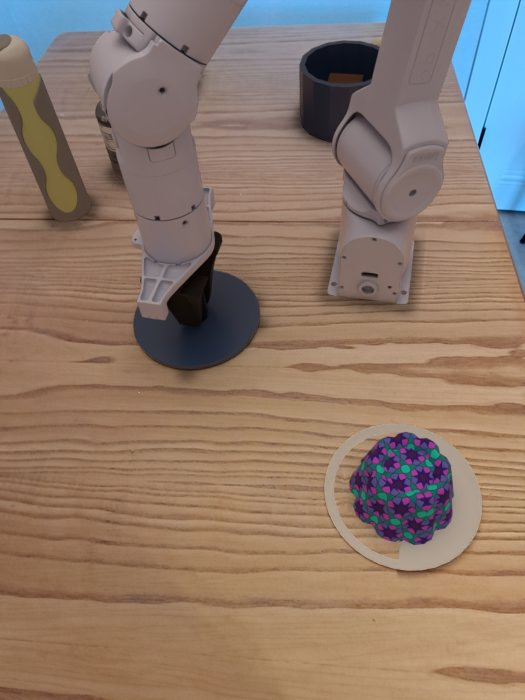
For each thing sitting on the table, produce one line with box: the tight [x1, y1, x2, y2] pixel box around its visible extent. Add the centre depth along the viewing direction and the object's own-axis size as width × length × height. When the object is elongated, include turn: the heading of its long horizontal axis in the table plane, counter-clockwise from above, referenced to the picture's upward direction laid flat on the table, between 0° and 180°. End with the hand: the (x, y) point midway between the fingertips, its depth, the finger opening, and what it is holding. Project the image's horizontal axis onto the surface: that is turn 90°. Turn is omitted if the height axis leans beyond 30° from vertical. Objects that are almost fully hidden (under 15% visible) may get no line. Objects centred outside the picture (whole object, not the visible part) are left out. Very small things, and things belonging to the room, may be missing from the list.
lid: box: [132, 269, 261, 370], centre depth 55 cm, size 12×12×5 cm
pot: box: [298, 39, 380, 143], centre depth 74 cm, size 11×11×8 cm
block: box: [327, 73, 364, 84], centre depth 75 cm, size 4×4×4 cm
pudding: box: [323, 422, 483, 572], centre depth 43 cm, size 12×12×5 cm
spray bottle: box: [0, 33, 92, 223], centre depth 61 cm, size 5×5×20 cm
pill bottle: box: [94, 100, 124, 181], centre depth 68 cm, size 6×6×11 cm
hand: (194, 310), depth 56 cm, fingers closed on lid, 2 cm apart
